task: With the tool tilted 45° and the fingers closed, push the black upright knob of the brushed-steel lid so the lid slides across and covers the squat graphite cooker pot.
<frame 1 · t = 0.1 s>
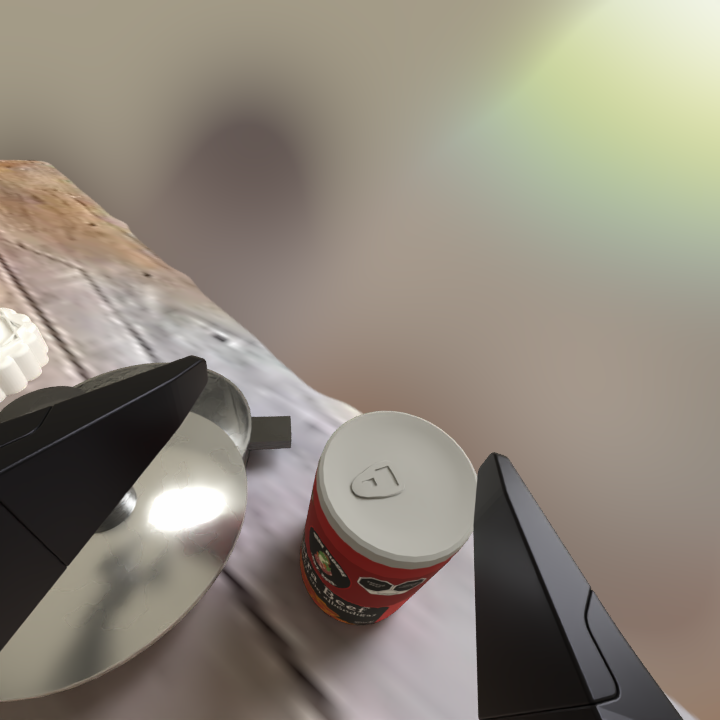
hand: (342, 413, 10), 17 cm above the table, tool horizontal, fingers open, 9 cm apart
cooker pot: (153, 453, 24), on the table
canned food: (356, 558, 22), on the table
cooker lid: (83, 471, 15), point 8 cm above the table, slide at 6.0 cm
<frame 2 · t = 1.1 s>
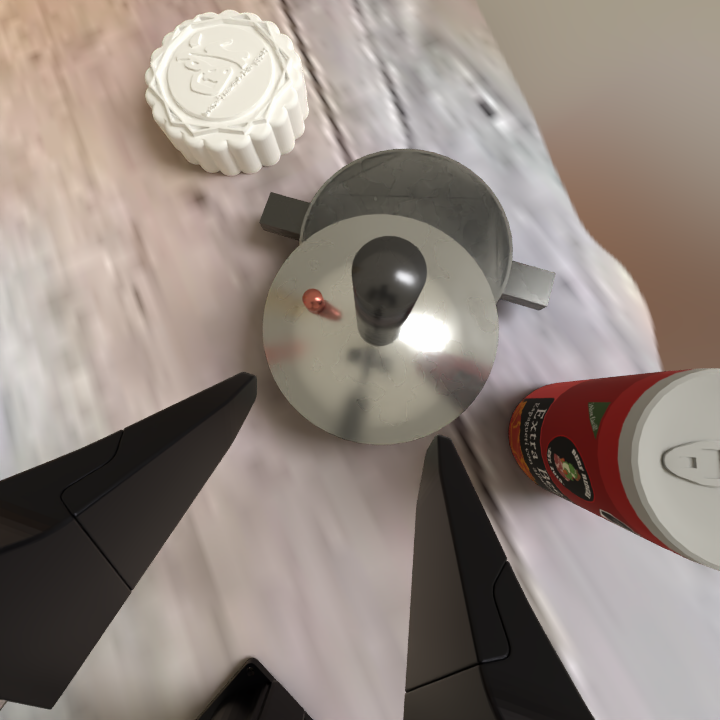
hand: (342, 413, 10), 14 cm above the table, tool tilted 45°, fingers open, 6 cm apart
mooncake: (239, 115, 27), on the table
cooker pot: (400, 264, 25), on the table
canned food: (559, 436, 23), on the table
cooker lid: (382, 306, 16), point 8 cm above the table, slide at 6.0 cm
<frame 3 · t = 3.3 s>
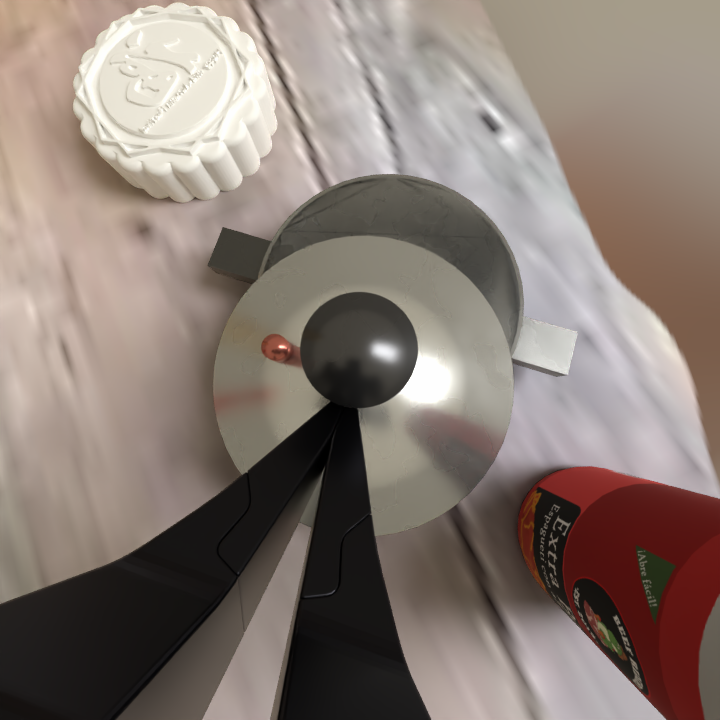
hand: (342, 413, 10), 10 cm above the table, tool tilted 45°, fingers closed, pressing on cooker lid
mooncake: (195, 129, 23), on the table
cooker pot: (385, 312, 20), on the table
canned food: (580, 530, 18), on the table
cooker lid: (361, 368, 12), point 8 cm above the table, slide at 4.6 cm, touching gripper
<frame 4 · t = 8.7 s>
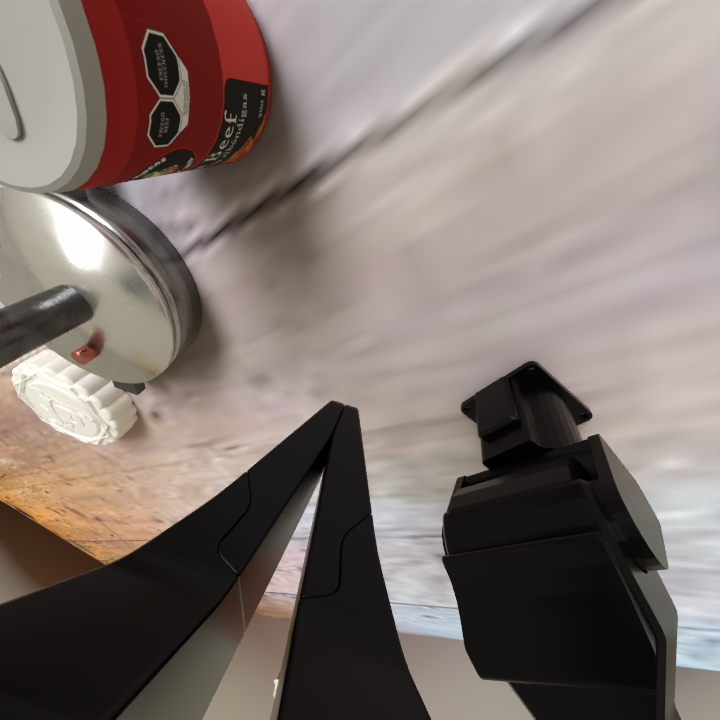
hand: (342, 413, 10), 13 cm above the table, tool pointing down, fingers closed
mooncake: (92, 389, 37), on the table
cooker pot: (121, 281, 26), on the table
canned food: (209, 72, 16), on the table
cooker lid: (18, 329, 20), point 8 cm above the table, slide at 0.0 cm
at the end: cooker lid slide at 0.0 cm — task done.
